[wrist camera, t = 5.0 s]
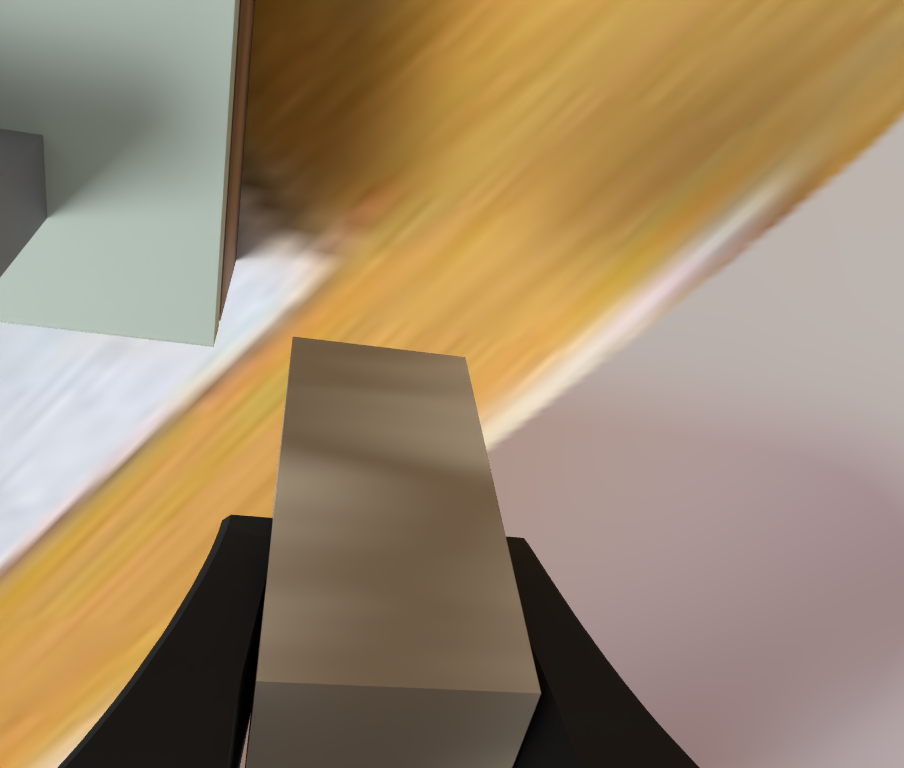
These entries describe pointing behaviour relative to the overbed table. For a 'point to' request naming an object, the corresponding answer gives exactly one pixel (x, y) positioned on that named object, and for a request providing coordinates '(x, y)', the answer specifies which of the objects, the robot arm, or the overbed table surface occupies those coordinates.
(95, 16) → the lid
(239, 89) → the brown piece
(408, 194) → the overbed table surface
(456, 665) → the block
